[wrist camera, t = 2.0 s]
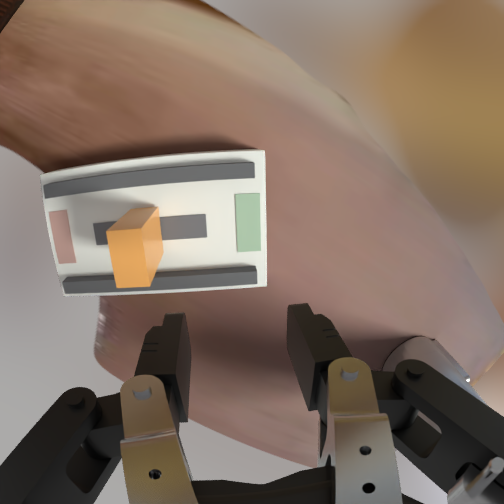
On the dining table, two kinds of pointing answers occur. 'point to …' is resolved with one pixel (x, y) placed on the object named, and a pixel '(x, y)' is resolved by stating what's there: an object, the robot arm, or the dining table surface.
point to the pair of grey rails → (155, 177)
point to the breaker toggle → (136, 247)
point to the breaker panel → (164, 218)
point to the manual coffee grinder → (8, 11)
